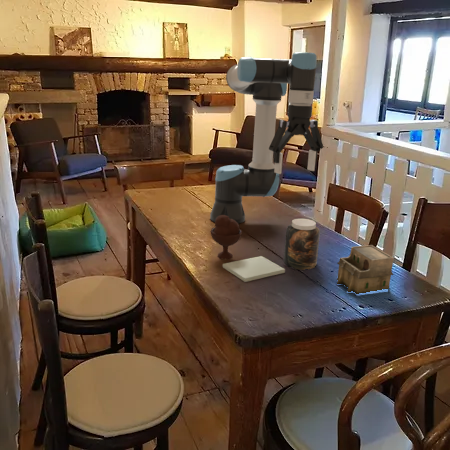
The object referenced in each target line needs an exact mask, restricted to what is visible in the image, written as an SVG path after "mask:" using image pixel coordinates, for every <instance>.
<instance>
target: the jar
mask: <svg viewBox="0 0 450 450" xmlns="http://www.w3.org/2000/svg"><path fill="white" fill-rule="evenodd" d="M320 232H321V231H320V228H319V227H317V223H316V221H315V220H312V219H308V218H294V219H292V221H291V224H289V225H288V226H287V227H286V232H285V240H284V241H285V242H284V249H283V264H284V265H285V266H287V267H289V268H291V269H293V270H294V269H295V270H301V271H302V270H303V271H306V270H305V269H308V270H311V269H314V268H316V267H317V263H318V258H319V257H318V256H319V255H318V254H319V246H320V245H319V244H320V237H321V235H320V234H321V233H320ZM315 266H316V267H315Z"/></svg>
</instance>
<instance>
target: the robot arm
mask: <svg viewBox="0 0 450 450" xmlns="http://www.w3.org/2000/svg"><path fill="white" fill-rule="evenodd" d="M291 55H292V56H291V58H289V59H288V58H265V57H252V56H248V57H245V56H244V57H242V56H241V57H240V58H239V60H238V61H237V62H238V63H237V64H234V65H232V66H231V67H230V68H229V69H228V70H227V71H226V75H225V80H226V83H227V86H228V87H229V88H230V89H231V90H232V91H235V92H236V93H239V94H242V95H252V100H253V102H254V103H255V112H254V113H255V115H254V129H253V130H254V132H253V144H252V145H253V146H252V147H253V148H252V158H251V160H252V161H251V162H250V163H248V168H244V166H243V165H241V164H231V165H230V164H229V165H224V166H220V167H219V168H217V170H216V172H215V178H214V179H215V187H214V188H215V190H214V192H215V193H214V203H213V205H212V209H211V212H210V215H209V218H210V219H209V220H211V221H212V222H213V223H215V220H216V218H217V217H218V216H220V215H226V216H228V217H229V218H230V219H233V220H235V221H236V222H237V223H238V225H239V224H242V223H244V222H245V220H246V214H245V213H246V212H245V209H244V207H243V197H263V198H265V197H273V196H274V195H275V194H276V193H277V191H278V187H279V185H280V184H279V183H280V175H282V169H283V168H282V167H283V154H284V153H283V152H282V151H283V150H284V148H285V147H286V146H287V144H288V143H289V141H291V139H292V137H294V136H299V135H301V136H303V138H304V139H305V141H306V142H307V144H308V145H309V147H310V149H309V150H308V159H307V167H306V168H307V171H311V172H315V168H316V161H317V159H318V153H319V152H320V151H321V149H323V148H324V145H323V140H322V138H321V133H320V130H319V121H318V120H316V119H311V118H312V114H313V106H312V104H313V103H314V92H315V83H316V82H315V81H316V71H317V70H316V69H317V66H318V65H317V59H318V57H317V54H316V53H315V52H306V51H303V52H302V51H295V52H293V53H292V54H291ZM288 84H289V89H288ZM287 90H289V91H288V103H289V105H288V106H287V113H286V114H287V117H288V119H287V120H282V119H280V120H279V122H278V128H277V129H276V122H277V121H276V120H277V111H278V104H279V103H280V102H281V101H282V97H284V96H286V94H287ZM309 128H310V129H309Z"/></svg>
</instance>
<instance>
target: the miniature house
mask: <svg viewBox="0 0 450 450" xmlns="http://www.w3.org/2000/svg"><path fill="white" fill-rule="evenodd" d="M336 264H338V271H337V276H338V278H337V277H336V283H337V284H343V285H345V286H346V287H348V289H346V291H348V292H351V291H353V292H355V293H356V294H359V293H366V292H370V291H377V290H382V289H389V290H390V283H391V277H392V276H393V275H394V274H395V273H393V271H392V270H393V265H394V257H393V256H391V255H390V254H388V253H386V252H384V251H382V250H381V249H379V248H378V247H376V246H374V245H373V244H369V245H358V246H357V245H356V246H352V247H351V249H350V254H349V255H348V256H347V257H345V256H344V257H339V261H338V262H337V263H336ZM337 280H338V281H337ZM343 285H342V286H343ZM346 287H345V288H346Z"/></svg>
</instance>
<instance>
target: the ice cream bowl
mask: <svg viewBox="0 0 450 450" xmlns="http://www.w3.org/2000/svg"><path fill="white" fill-rule="evenodd" d="M242 232H243V230H242V229H240V225H239V224H238V223H237V222H236V221H235V220H233V219H230V218H229V217H228V216H226V215H220V216H218V217H217V218H216V220H215V222H214V227H212V228H211V229H210V236H211V238H212V240H214V242H215V243H217V244H218V245H220V246H222V251H220V252H218V254H217V258H219V259H221V260H230V259H232V258H233V254H232V253H231V252H230V251H229V247H230V246H233V245H235V244H237V243H238V242H239V240H240V239H241V236H242Z"/></svg>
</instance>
